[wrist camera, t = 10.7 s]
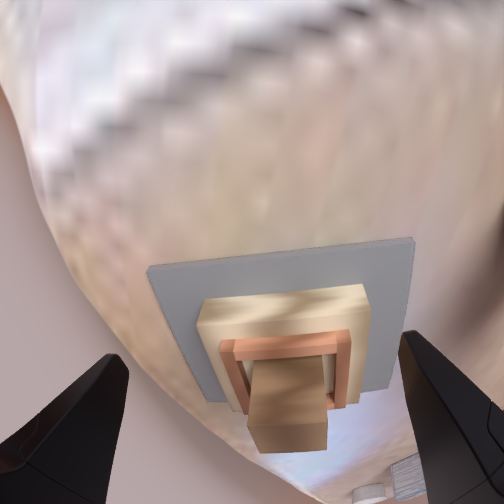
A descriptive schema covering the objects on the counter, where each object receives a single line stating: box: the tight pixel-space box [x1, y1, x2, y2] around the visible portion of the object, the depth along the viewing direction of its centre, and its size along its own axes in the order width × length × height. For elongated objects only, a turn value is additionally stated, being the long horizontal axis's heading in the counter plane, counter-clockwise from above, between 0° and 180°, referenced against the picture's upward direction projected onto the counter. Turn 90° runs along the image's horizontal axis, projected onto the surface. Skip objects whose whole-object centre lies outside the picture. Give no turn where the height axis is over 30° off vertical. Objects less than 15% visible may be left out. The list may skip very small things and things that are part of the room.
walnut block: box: [247, 355, 328, 453], centre depth 20 cm, size 5×5×6 cm
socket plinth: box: [196, 284, 371, 415], centre depth 24 cm, size 12×12×4 cm
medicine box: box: [390, 452, 427, 501], centre depth 39 cm, size 8×4×9 cm, turn 143°
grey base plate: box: [146, 237, 415, 402], centre depth 26 cm, size 20×18×1 cm
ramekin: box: [352, 484, 387, 504], centre depth 52 cm, size 9×9×4 cm
